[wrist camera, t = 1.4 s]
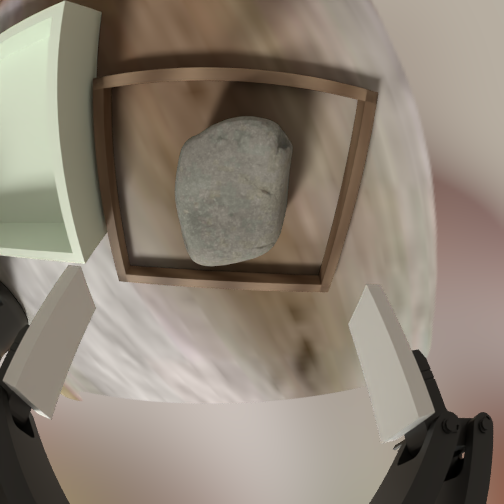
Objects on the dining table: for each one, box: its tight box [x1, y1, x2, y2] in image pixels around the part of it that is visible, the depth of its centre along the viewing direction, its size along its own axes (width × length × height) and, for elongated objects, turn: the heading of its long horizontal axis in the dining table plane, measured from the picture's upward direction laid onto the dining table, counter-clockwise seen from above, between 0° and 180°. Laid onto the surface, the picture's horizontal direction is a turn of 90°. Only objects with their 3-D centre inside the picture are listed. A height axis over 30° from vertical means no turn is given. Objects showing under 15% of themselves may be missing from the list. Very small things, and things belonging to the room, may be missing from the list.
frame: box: [93, 67, 378, 292], centre depth 22 cm, size 22×20×2 cm
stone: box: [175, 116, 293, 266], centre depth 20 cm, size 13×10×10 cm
